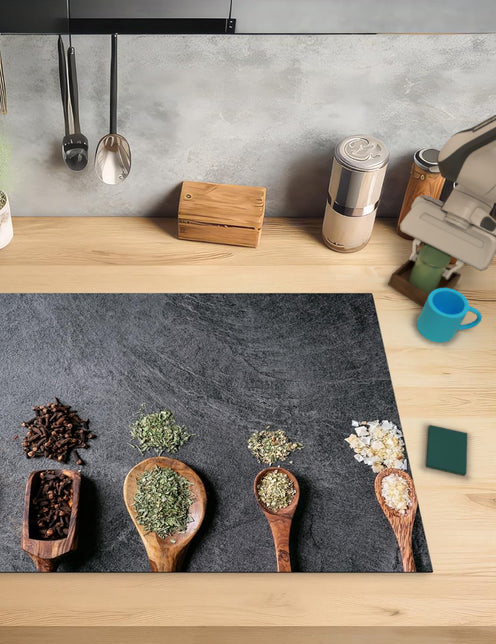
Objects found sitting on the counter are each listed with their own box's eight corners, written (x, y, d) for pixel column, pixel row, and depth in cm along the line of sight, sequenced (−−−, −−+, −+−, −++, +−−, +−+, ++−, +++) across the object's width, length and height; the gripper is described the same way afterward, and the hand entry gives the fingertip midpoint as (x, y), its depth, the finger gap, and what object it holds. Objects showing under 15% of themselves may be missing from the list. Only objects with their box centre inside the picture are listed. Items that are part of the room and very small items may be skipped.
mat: (428, 427, 143) (429, 424, 142) (465, 435, 141) (467, 433, 141) (425, 467, 137) (427, 464, 137) (464, 476, 136) (466, 473, 135)
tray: (455, 285, 164) (461, 274, 161) (428, 311, 160) (433, 300, 157) (415, 260, 169) (419, 249, 166) (387, 284, 164) (391, 274, 162)
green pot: (443, 283, 164) (456, 255, 156) (426, 299, 161) (439, 270, 154) (418, 268, 166) (430, 239, 159) (401, 283, 164) (413, 254, 157)
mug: (417, 340, 155) (429, 315, 149) (415, 310, 160) (426, 285, 153) (476, 347, 154) (490, 322, 147) (472, 317, 159) (486, 292, 152)
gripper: (418, 188, 157) (383, 245, 161) (509, 231, 149) (470, 291, 153) (421, 193, 163) (388, 249, 166) (510, 235, 155) (472, 293, 158)
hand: (428, 269), depth 159 cm, fingers closed on green pot, 6 cm apart
